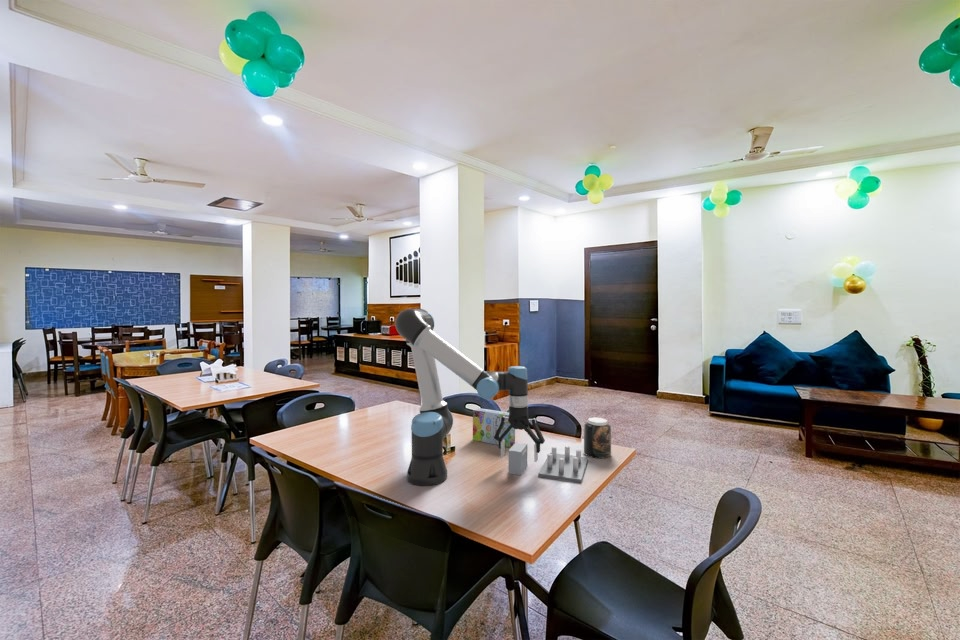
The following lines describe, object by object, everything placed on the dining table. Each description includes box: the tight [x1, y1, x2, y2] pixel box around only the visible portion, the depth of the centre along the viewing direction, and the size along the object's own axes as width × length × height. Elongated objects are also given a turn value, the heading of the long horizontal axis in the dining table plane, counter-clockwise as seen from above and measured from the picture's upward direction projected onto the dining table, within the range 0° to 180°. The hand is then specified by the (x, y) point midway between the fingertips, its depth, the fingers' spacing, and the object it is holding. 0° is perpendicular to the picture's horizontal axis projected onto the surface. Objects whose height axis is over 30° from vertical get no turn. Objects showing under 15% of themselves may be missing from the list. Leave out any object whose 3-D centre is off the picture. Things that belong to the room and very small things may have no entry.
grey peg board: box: [537, 445, 589, 484], centre depth 161 cm, size 16×24×6 cm, turn 159°
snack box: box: [472, 407, 516, 448], centre depth 192 cm, size 21×6×15 cm, turn 58°
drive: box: [508, 442, 528, 476], centre depth 159 cm, size 5×10×9 cm, turn 159°
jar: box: [583, 416, 612, 459], centre depth 177 cm, size 12×12×15 cm
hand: (519, 458), depth 159 cm, fingers open, 13 cm apart
